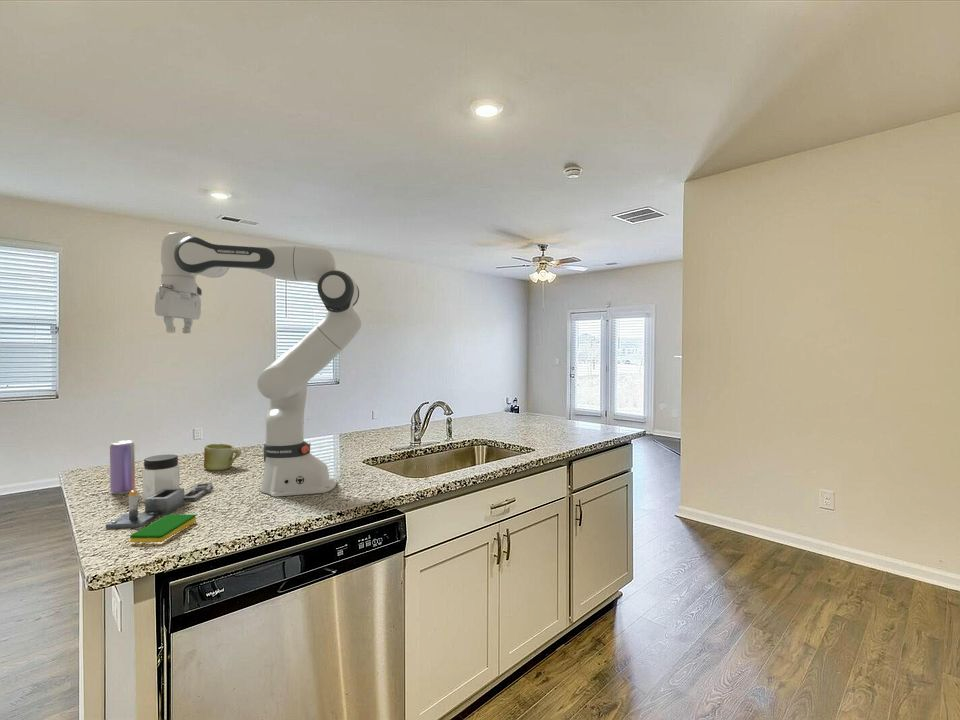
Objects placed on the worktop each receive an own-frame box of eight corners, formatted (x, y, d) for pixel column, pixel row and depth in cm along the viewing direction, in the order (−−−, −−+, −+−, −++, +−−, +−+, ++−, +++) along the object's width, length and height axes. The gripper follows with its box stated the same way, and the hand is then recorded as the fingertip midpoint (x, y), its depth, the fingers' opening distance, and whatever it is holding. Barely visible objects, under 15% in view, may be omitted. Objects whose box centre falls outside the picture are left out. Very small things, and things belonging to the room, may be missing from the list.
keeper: (159, 516, 125) (159, 485, 125) (141, 527, 117) (141, 495, 117) (126, 517, 124) (125, 486, 124) (105, 528, 117) (105, 496, 116)
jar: (136, 501, 137) (135, 459, 137) (162, 493, 145) (162, 453, 144) (160, 504, 134) (159, 461, 134) (186, 496, 142) (185, 455, 142)
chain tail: (220, 485, 153) (220, 479, 153) (197, 500, 138) (197, 494, 138) (196, 485, 152) (196, 479, 152) (171, 501, 137) (171, 494, 137)
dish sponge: (196, 523, 122) (196, 514, 122) (161, 546, 108) (161, 535, 108) (168, 523, 122) (167, 513, 121) (129, 546, 108) (128, 535, 108)
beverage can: (122, 495, 142) (121, 444, 142) (105, 494, 143) (104, 443, 143) (140, 489, 148) (139, 440, 148) (123, 488, 149) (123, 439, 149)
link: (184, 504, 135) (184, 488, 135) (167, 515, 126) (167, 498, 126) (163, 504, 134) (163, 488, 134) (145, 515, 125) (144, 499, 125)
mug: (191, 466, 169) (202, 438, 172) (210, 468, 179) (221, 442, 182) (220, 475, 167) (231, 446, 169) (238, 476, 176) (249, 450, 179)
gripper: (171, 283, 136) (172, 332, 136) (204, 291, 156) (205, 334, 157) (147, 282, 135) (148, 331, 136) (184, 290, 155) (184, 333, 156)
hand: (179, 333), depth 146 cm, fingers open, 8 cm apart
